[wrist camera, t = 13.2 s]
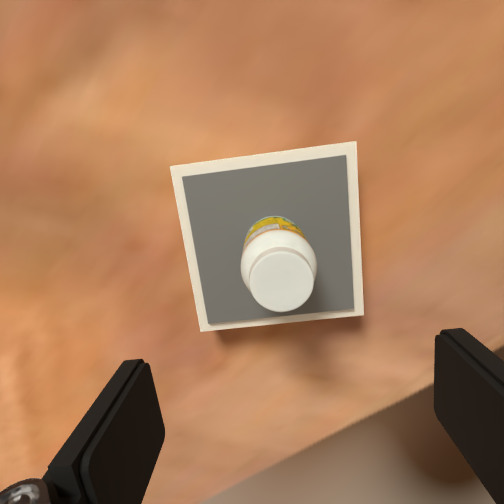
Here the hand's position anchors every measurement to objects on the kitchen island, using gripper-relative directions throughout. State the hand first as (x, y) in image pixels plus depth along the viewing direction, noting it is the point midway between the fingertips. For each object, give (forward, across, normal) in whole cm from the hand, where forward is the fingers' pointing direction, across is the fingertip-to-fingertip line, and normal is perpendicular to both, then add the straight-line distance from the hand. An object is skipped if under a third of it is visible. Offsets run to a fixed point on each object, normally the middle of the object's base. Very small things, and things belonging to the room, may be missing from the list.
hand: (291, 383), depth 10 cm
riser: (+24, 0, 0) cm, 24 cm away
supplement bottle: (+19, 0, 0) cm, 19 cm away
